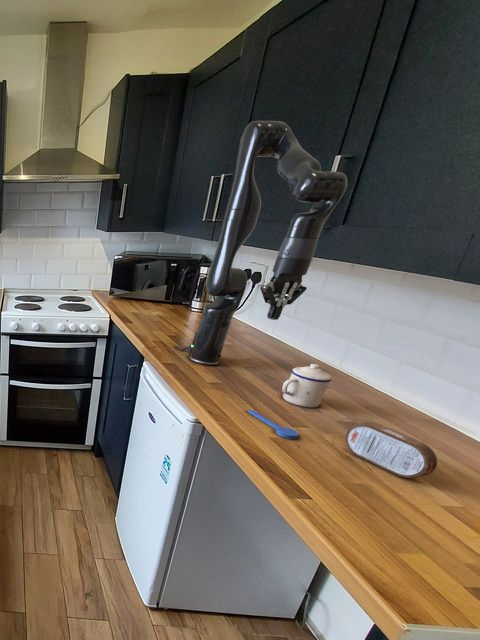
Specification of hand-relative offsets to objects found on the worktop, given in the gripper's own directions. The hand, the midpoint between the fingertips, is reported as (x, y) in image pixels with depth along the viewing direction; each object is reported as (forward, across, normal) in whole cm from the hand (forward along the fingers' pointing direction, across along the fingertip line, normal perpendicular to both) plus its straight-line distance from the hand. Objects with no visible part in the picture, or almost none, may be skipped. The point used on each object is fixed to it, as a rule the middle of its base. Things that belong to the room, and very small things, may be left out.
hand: (272, 319), depth 114 cm
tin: (+23, 0, +38) cm, 45 cm away
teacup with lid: (+23, -10, +7) cm, 26 cm away
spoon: (+23, +10, +20) cm, 32 cm away
